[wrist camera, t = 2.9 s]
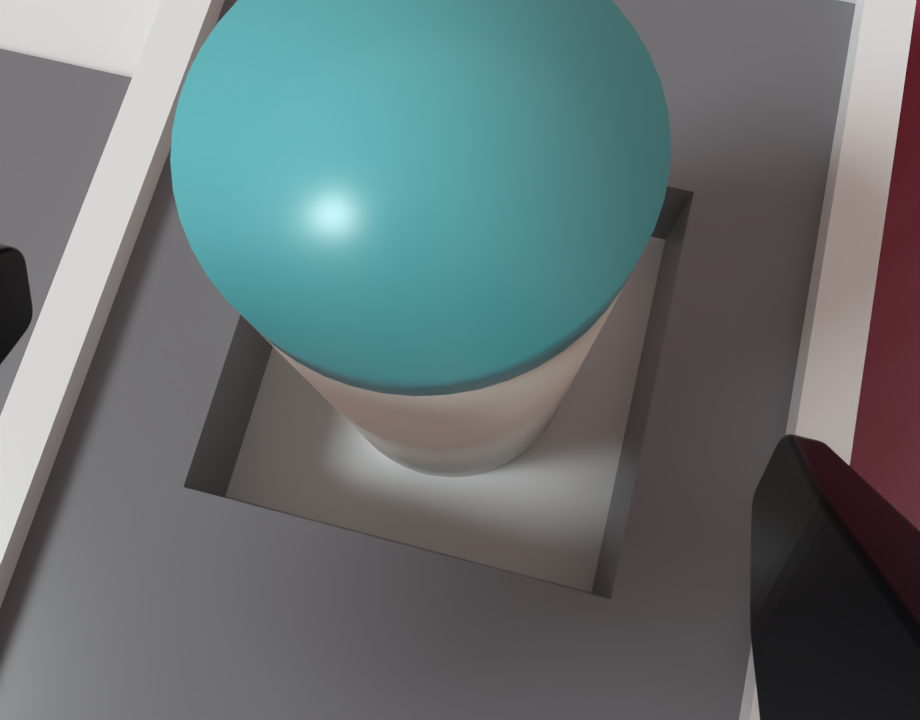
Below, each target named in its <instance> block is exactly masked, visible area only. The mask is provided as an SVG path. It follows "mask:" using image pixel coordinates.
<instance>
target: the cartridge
mask: <svg viewBox="0 0 920 720" xmlns="http://www.w3.org/2000/svg"><path fill="white" fill-rule="evenodd" d="M670 156H671V133H670V124H669V114H668V108H667V104H666V100H665V96H664V92H663V88H662V84H661V81H660V78H659V76H658V73H657V71H656V68H655V66H654V64H653V61H652V59H651V56H650V54H649V52H648V50H647V49H646V47H645V45H644V44H643V42H642V40H641V38H640V37H639V35H638V33H637V32H636V30H635V28H634V27H633V26H632V24H631V23H630V22H629V21H628V19H627V18H626V17H625V15H624V14H623V13H622V12H621V10H620V9H619V8H618V6H617V5H616V4H615V3H614V2H613V1H612V0H238V1H237V2H236V3H235V4H234V5H233V6H232V7H231V8H230V10H229V11H228V12H227V13H226V14H225V15H224V16H223V18H222V19H221V20H220V21H219V22H218V23H217V25H216V26H215V28H214V29H213V31H212V32H211V33H210V35H209V36H208V38H207V39H206V41H205V42H204V44H203V45H202V47H201V48H200V50H199V52H198V54H197V56H196V58H195V60H194V62H193V64H192V66H191V68H190V70H189V72H188V74H187V77H186V80H185V83H184V85H183V88H182V91H181V94H180V97H179V100H178V103H177V108H176V113H175V118H174V123H173V128H172V139H171V157H170V163H171V175H172V186H173V193H174V197H175V201H176V206H177V210H178V214H179V218H180V221H181V224H182V226H183V229H184V232H185V234H186V237H187V239H188V242H189V244H190V247H191V249H192V251H193V252H194V254H195V256H196V257H197V259H198V261H199V263H200V264H201V266H202V268H203V270H204V271H205V273H206V275H207V276H208V277H209V279H210V280H211V281H212V283H213V284H214V285H215V286H216V288H217V289H218V290H219V291H220V293H221V294H222V295H223V296H224V298H225V299H226V300H227V301H228V302H229V303H230V304H231V305H232V306H233V307H234V308H235V309H236V310H237V311H238V312H239V313H240V314H241V315H242V316H243V317H244V318H245V319H246V320H247V321H248V322H249V323H250V324H251V325H252V326H253V327H254V328H255V329H256V330H257V331H258V332H259V333H260V334H261V335H262V336H263V337H264V338H265V339H266V340H267V341H268V342H269V343H270V344H271V345H272V346H273V347H274V348H275V349H276V350H277V351H278V352H279V353H280V354H281V355H282V356H283V357H284V358H285V359H286V360H287V361H288V362H289V363H290V364H291V365H292V366H293V367H294V368H295V369H296V370H297V371H298V372H299V373H300V374H301V375H302V376H303V377H304V378H305V379H306V380H307V381H308V382H309V383H310V384H311V385H312V386H313V387H314V388H315V389H316V390H317V391H318V392H319V393H320V394H321V395H322V396H323V397H324V398H325V399H326V400H327V401H328V402H329V403H330V404H331V405H332V406H333V407H334V408H335V409H336V410H337V411H338V412H339V413H340V414H341V415H342V416H343V417H344V418H345V419H346V420H347V421H348V422H349V423H350V424H351V425H352V426H353V427H354V428H355V429H356V430H358V431H359V432H360V433H361V434H362V435H363V436H364V437H365V438H366V439H367V440H368V441H369V442H370V443H371V444H372V445H373V446H374V447H375V448H376V449H377V450H378V451H379V452H380V453H382V454H383V455H385V456H386V457H387V458H389V459H390V460H392V461H394V462H395V463H397V464H399V465H401V466H403V467H405V468H408V469H410V470H413V471H416V472H418V473H422V474H427V475H431V476H438V477H466V476H472V475H478V474H481V473H485V472H488V471H491V470H494V469H496V468H498V467H500V466H503V465H505V464H507V463H509V462H510V461H512V460H513V459H515V458H516V457H518V456H520V455H521V454H522V453H523V452H524V451H526V450H527V449H528V448H529V447H530V446H532V444H533V443H534V442H535V441H536V440H537V439H538V438H539V437H540V436H541V435H542V433H543V432H544V430H545V429H546V427H547V426H548V425H549V423H550V421H551V420H552V418H553V416H554V414H555V412H556V410H557V409H558V407H559V405H560V403H561V401H562V399H563V398H564V396H565V394H566V392H567V390H568V388H569V387H570V385H571V383H572V381H573V379H574V377H575V376H576V374H577V372H578V370H579V368H580V366H581V365H582V363H583V361H584V359H585V357H586V355H587V354H588V352H589V350H590V348H591V346H592V344H593V343H594V341H595V339H596V337H597V335H598V333H599V332H600V330H601V328H602V326H603V324H604V322H605V321H606V319H607V317H608V315H609V313H610V311H611V310H612V308H613V306H614V304H615V302H616V300H617V299H618V297H619V295H620V293H621V291H622V289H623V288H624V286H625V284H626V282H627V280H628V278H629V277H630V275H631V273H632V271H633V269H634V267H635V266H636V264H637V262H638V260H639V258H640V256H641V254H642V252H643V250H644V248H645V246H646V244H647V243H648V241H649V239H650V237H651V235H652V233H653V231H654V229H655V226H656V223H657V220H658V217H659V214H660V211H661V208H662V205H663V202H664V199H665V193H666V188H667V183H668V177H669V172H670Z"/></svg>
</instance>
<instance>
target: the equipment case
mask: <svg viewBox="0 0 920 720" xmlns="http://www.w3.org/2000/svg"><path fill="white" fill-rule="evenodd" d="M237 1H238V0H0V244H4V245H8V246H12V247H15V248H17V249H18V250H19V251H20V252H21V253H22V254H23V256H24V258H25V261H26V267H27V273H28V280H29V286H30V293H31V299H32V306H33V314H32V319H31V323H30V325H29V327H28V329H27V331H26V332H25V333H24V335H23V336H22V337H21V339H20V340H19V341H18V342H17V344H16V345H15V346H14V348H13V349H12V350H11V352H10V353H9V354H8V356H7V357H6V358H5V360H4V361H3V362H2V364H1V365H0V720H760V715H759V706H758V697H757V688H756V680H755V671H754V662H753V653H752V643H751V631H750V569H751V508H752V501H753V496H754V493H755V490H756V487H757V485H758V483H759V481H760V479H761V477H762V475H763V473H764V471H765V469H766V466H767V464H768V462H769V460H770V458H771V456H772V454H773V452H774V450H775V448H776V446H777V444H778V442H779V441H780V440H781V438H782V437H784V436H785V435H788V434H793V435H798V436H802V437H806V438H810V439H814V440H819V441H821V442H824V443H825V444H826V445H828V446H829V447H830V448H831V449H832V450H833V451H834V452H835V453H836V454H837V455H838V456H839V457H840V458H842V459H843V460H844V461H845V462H846V463H847V464H848V465H849V466H850V460H851V453H852V446H853V439H854V432H855V425H856V418H857V411H858V404H859V397H860V390H861V383H862V376H863V369H864V362H865V355H866V348H867V341H868V334H869V327H870V320H871V313H872V306H873V299H874V292H875V285H876V278H877V271H878V264H879V257H880V250H881V243H882V236H883V229H884V222H885V215H886V208H887V201H888V194H889V188H890V181H891V174H892V167H893V160H894V153H895V146H896V139H897V132H898V125H899V118H900V111H901V104H902V97H903V90H904V83H905V76H906V69H907V62H908V55H909V48H910V41H911V34H912V27H913V20H914V13H915V6H916V0H612V1H613V2H614V3H615V4H616V5H617V6H618V8H619V9H620V10H621V12H622V13H623V14H624V15H625V17H626V18H627V19H628V21H629V22H630V23H631V24H632V26H633V27H634V28H635V30H636V32H637V33H638V35H639V37H640V38H641V40H642V42H643V44H644V45H645V47H646V49H647V50H648V52H649V54H650V56H651V59H652V61H653V64H654V66H655V68H656V71H657V73H658V76H659V78H660V81H661V84H662V88H663V92H664V96H665V100H666V104H667V108H668V114H669V124H670V133H671V156H670V172H669V177H668V183H667V188H666V193H665V199H664V202H663V205H662V208H661V211H660V214H659V217H658V220H657V223H656V226H655V229H654V231H653V233H652V235H651V237H650V239H649V241H648V243H647V244H646V246H645V248H644V250H643V252H642V254H641V256H640V258H639V260H638V262H637V264H636V266H635V267H634V269H633V271H632V273H631V275H630V277H629V278H628V280H627V282H626V284H625V286H624V288H623V289H622V291H621V293H620V295H619V297H618V299H617V300H616V302H615V304H614V306H613V308H612V310H611V311H610V313H609V315H608V317H607V319H606V321H605V322H604V324H603V326H602V328H601V330H600V332H599V333H598V335H597V337H596V339H595V341H594V343H593V344H592V346H591V348H590V350H589V352H588V354H587V355H586V357H585V359H584V361H583V363H582V365H581V366H580V368H579V370H578V372H577V374H576V376H575V377H574V379H573V381H572V383H571V385H570V387H569V388H568V390H567V392H566V394H565V396H564V398H563V399H562V401H561V403H560V405H559V407H558V409H557V410H556V412H555V414H554V416H553V418H552V420H551V421H550V423H549V425H548V426H547V427H546V429H545V430H544V432H543V433H542V435H541V436H540V437H539V438H538V439H537V440H536V441H535V442H534V443H533V444H532V446H530V447H529V448H528V449H527V450H526V451H524V452H523V453H522V454H521V455H520V456H518V457H516V458H515V459H513V460H512V461H510V462H509V463H507V464H505V465H503V466H500V467H498V468H496V469H494V470H491V471H488V472H485V473H481V474H478V475H472V476H466V477H438V476H431V475H427V474H422V473H418V472H416V471H413V470H410V469H408V468H405V467H403V466H401V465H399V464H397V463H395V462H394V461H392V460H390V459H389V458H387V457H386V456H385V455H383V454H382V453H380V452H379V451H378V450H377V449H376V448H375V447H374V446H373V445H372V444H371V443H370V442H369V441H368V440H367V439H366V438H365V437H364V436H363V435H362V434H361V433H360V432H359V431H358V430H356V429H355V428H354V427H353V426H352V425H351V424H350V423H349V422H348V421H347V420H346V419H345V418H344V417H343V416H342V415H341V414H340V413H339V412H338V411H337V410H336V409H335V408H334V407H333V406H332V405H331V404H330V403H329V402H328V401H327V400H326V399H325V398H324V397H323V396H322V395H321V394H320V393H319V392H318V391H317V390H316V389H315V388H314V387H313V386H312V385H311V384H310V383H309V382H308V381H307V380H306V379H305V378H304V377H303V376H302V375H301V374H300V373H299V372H298V371H297V370H296V369H295V368H294V367H293V366H292V365H291V364H290V363H289V362H288V361H287V360H286V359H285V358H284V357H283V356H282V355H281V354H280V353H279V352H278V351H277V350H276V349H275V348H274V347H273V346H272V345H271V344H270V343H269V342H268V341H267V340H266V339H265V338H264V337H263V336H262V335H261V334H260V333H259V332H258V331H257V330H256V329H255V328H254V327H253V326H252V325H251V324H250V323H249V322H248V321H247V320H246V319H245V318H244V317H243V316H242V315H241V314H240V313H239V312H238V311H237V310H236V309H235V308H234V307H233V306H232V305H231V304H230V303H229V302H228V301H227V300H226V299H225V298H224V296H223V295H222V294H221V293H220V291H219V290H218V289H217V288H216V286H215V285H214V284H213V283H212V281H211V280H210V279H209V277H208V276H207V275H206V273H205V271H204V270H203V268H202V266H201V264H200V263H199V261H198V259H197V257H196V256H195V254H194V252H193V251H192V249H191V247H190V244H189V242H188V239H187V237H186V234H185V232H184V229H183V226H182V224H181V221H180V218H179V214H178V210H177V206H176V201H175V197H174V193H173V186H172V175H171V163H170V157H171V139H172V128H173V123H174V118H175V113H176V108H177V103H178V100H179V97H180V94H181V91H182V88H183V85H184V83H185V80H186V77H187V74H188V72H189V70H190V68H191V66H192V64H193V62H194V60H195V58H196V56H197V54H198V52H199V50H200V48H201V47H202V45H203V44H204V42H205V41H206V39H207V38H208V36H209V35H210V33H211V32H212V31H213V29H214V28H215V26H216V25H217V23H218V22H219V21H220V20H221V19H222V18H223V16H224V15H225V14H226V13H227V12H228V11H229V10H230V8H231V7H232V6H233V5H234V4H235V3H236V2H237Z"/></svg>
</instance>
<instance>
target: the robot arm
mask: <svg viewBox="0 0 920 720" xmlns="http://www.w3.org/2000/svg"><path fill="white" fill-rule="evenodd" d="M32 314H33V306H32V299H31V293H30V286H29V280H28V273H27V267H26V261H25V258H24V256H23V254H22V253H21V252H20V251H19V250H18V249H17V248H15V247H12V246H8V245H4V244H0V365H1V364H2V362H3V361H4V360H5V358H6V357H7V356H8V354H9V353H10V352H11V350H12V349H13V348H14V346H15V345H16V344H17V342H18V341H19V340H20V339H21V337H22V336H23V335H24V333H25V332H26V331H27V329H28V327H29V325H30V323H31V319H32ZM750 631H751V643H752V653H753V662H754V671H755V680H756V688H757V697H758V706H759V715H760V720H920V531H919V530H918V529H917V528H916V527H914V526H913V525H912V524H911V523H910V522H909V521H908V520H907V519H906V518H905V517H904V516H903V515H902V514H901V513H899V512H898V511H897V510H896V509H895V508H894V507H893V506H892V505H891V504H890V503H889V502H888V501H887V500H886V499H884V498H883V497H882V496H881V495H880V494H879V493H878V492H877V491H876V490H875V489H874V488H873V487H872V486H870V485H869V484H868V483H867V482H866V481H865V480H864V479H863V478H862V477H861V476H860V475H859V474H858V473H857V472H855V471H854V470H853V469H852V468H851V467H850V466H849V465H848V464H847V463H846V462H845V461H844V460H843V459H842V458H840V457H839V456H838V455H837V454H836V453H835V452H834V451H833V450H832V449H831V448H830V447H829V446H828V445H826V444H825V443H824V442H821V441H819V440H814V439H810V438H806V437H802V436H798V435H793V434H788V435H785V436H784V437H782V438H781V440H780V441H779V442H778V444H777V446H776V448H775V450H774V452H773V454H772V456H771V458H770V460H769V462H768V464H767V466H766V469H765V471H764V473H763V475H762V477H761V479H760V481H759V483H758V485H757V487H756V490H755V493H754V496H753V501H752V508H751V569H750Z"/></svg>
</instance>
